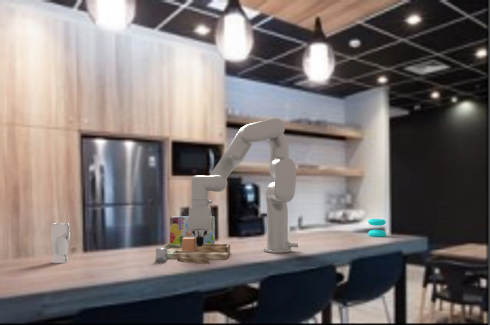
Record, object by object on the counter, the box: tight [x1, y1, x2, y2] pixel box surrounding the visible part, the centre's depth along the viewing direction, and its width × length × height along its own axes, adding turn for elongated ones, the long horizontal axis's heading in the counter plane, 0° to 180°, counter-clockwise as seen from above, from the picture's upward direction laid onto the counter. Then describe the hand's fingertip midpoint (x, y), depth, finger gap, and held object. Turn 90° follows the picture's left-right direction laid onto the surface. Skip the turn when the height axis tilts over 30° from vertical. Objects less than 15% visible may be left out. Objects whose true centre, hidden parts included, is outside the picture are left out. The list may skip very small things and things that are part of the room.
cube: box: [182, 237, 196, 251], centre depth 182 cm, size 5×5×5 cm
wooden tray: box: [159, 242, 231, 260], centre depth 179 cm, size 28×16×4 cm, turn 86°
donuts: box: [367, 218, 387, 238], centre depth 248 cm, size 10×10×10 cm
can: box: [155, 247, 168, 263], centre depth 166 cm, size 4×4×5 cm
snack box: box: [169, 215, 216, 248], centre depth 202 cm, size 21×6×15 cm, turn 84°
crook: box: [177, 256, 210, 265], centre depth 165 cm, size 14×5×2 cm, turn 61°
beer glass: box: [50, 222, 71, 265], centre depth 164 cm, size 7×7×15 cm
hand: (199, 245), depth 182 cm, fingers closed
